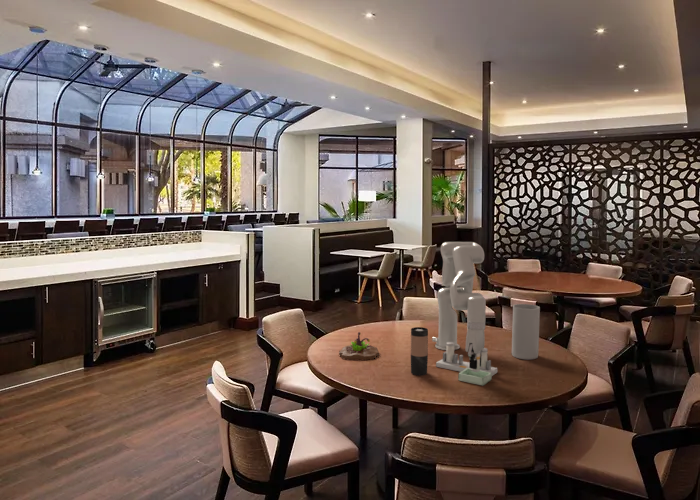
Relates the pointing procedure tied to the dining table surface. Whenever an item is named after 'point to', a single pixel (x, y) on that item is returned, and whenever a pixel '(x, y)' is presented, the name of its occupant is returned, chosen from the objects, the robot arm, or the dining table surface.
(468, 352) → the robot arm
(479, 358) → the fuse marked
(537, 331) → the cylinder vase
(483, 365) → the fuse right
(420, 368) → the travel mug
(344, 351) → the plant
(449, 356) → the cylinder
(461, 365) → the holder
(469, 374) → the tray
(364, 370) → the dining table surface
